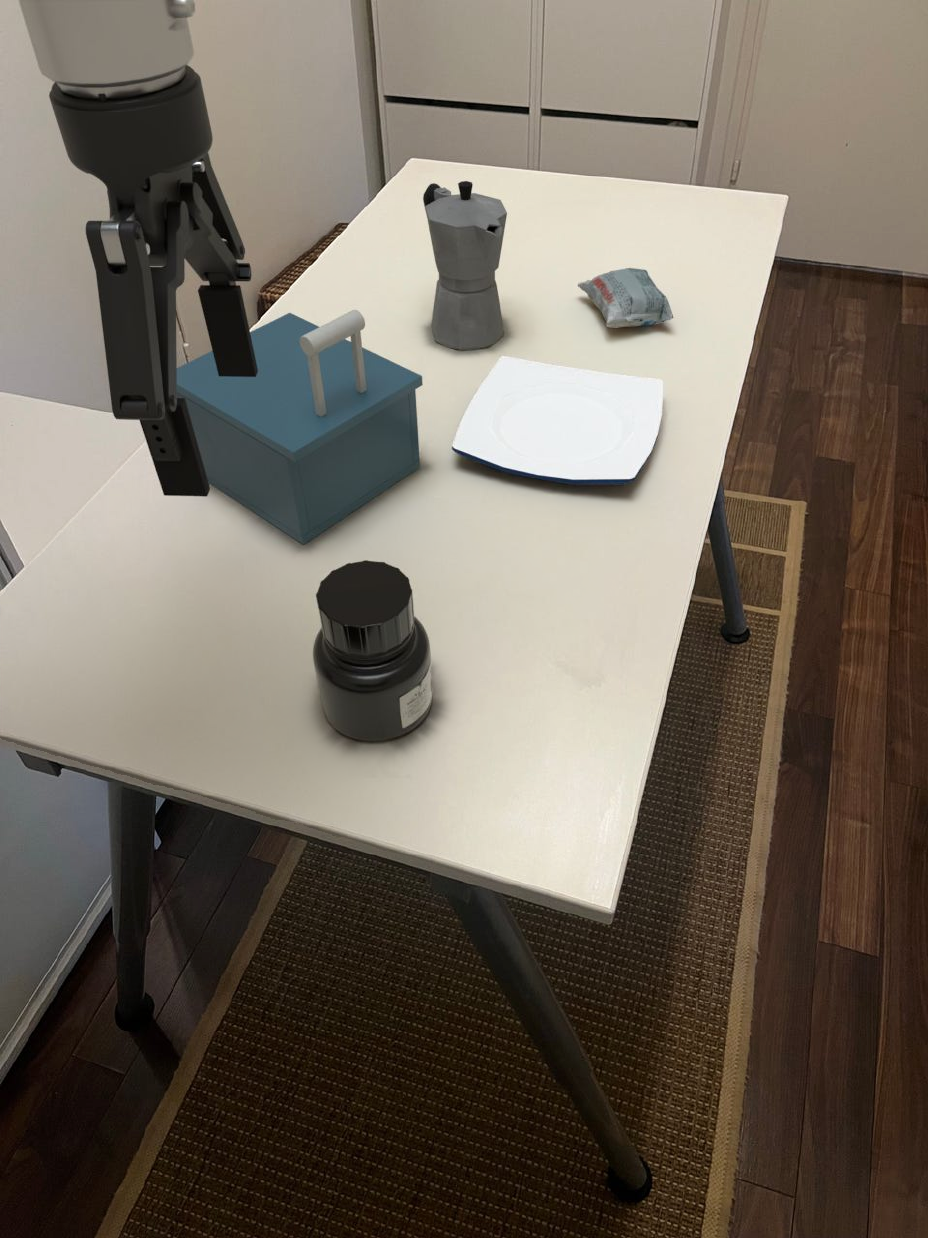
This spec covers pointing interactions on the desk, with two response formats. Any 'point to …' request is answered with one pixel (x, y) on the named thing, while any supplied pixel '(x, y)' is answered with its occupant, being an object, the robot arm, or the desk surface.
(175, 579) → the desk surface
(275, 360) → the lid
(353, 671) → the ink bottle
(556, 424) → the plate
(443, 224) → the coffeepot
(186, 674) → the desk surface
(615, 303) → the packaged food
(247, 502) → the chest
